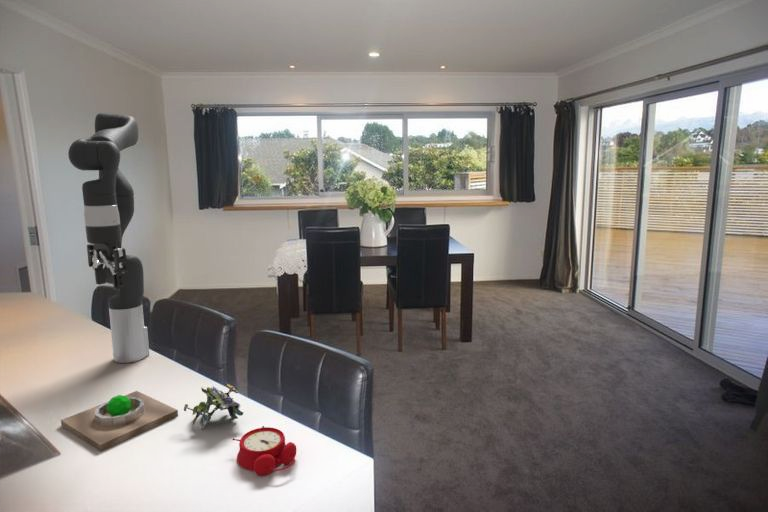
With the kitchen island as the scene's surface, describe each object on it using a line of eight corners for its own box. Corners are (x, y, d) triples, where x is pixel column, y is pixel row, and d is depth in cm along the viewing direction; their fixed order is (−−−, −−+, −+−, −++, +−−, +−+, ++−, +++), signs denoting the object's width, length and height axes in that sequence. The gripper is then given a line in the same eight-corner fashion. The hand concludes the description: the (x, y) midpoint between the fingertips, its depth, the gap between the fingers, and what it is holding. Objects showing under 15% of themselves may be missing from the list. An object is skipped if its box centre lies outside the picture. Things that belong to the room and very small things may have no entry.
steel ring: (130, 400, 119) (129, 393, 118) (152, 412, 113) (152, 404, 113) (87, 417, 110) (86, 409, 110) (109, 430, 105) (108, 422, 105)
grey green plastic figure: (233, 438, 115) (256, 406, 111) (193, 451, 106) (216, 417, 102) (212, 401, 120) (233, 370, 116) (172, 411, 111) (194, 377, 107)
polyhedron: (133, 416, 111) (131, 397, 110) (109, 423, 108) (107, 403, 107) (130, 408, 115) (128, 389, 114) (107, 413, 112) (105, 395, 111)
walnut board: (137, 396, 124) (136, 390, 124) (178, 415, 115) (177, 409, 114) (61, 426, 109) (60, 420, 109) (100, 451, 100) (100, 444, 100)
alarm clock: (267, 420, 106) (305, 431, 96) (272, 447, 106) (310, 462, 96) (224, 438, 99) (260, 452, 88) (229, 467, 99) (265, 485, 88)
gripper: (133, 223, 116) (139, 287, 119) (103, 219, 124) (110, 279, 127) (102, 227, 110) (109, 293, 113) (72, 222, 118) (80, 285, 121)
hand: (109, 286), depth 120 cm, fingers open, 8 cm apart
